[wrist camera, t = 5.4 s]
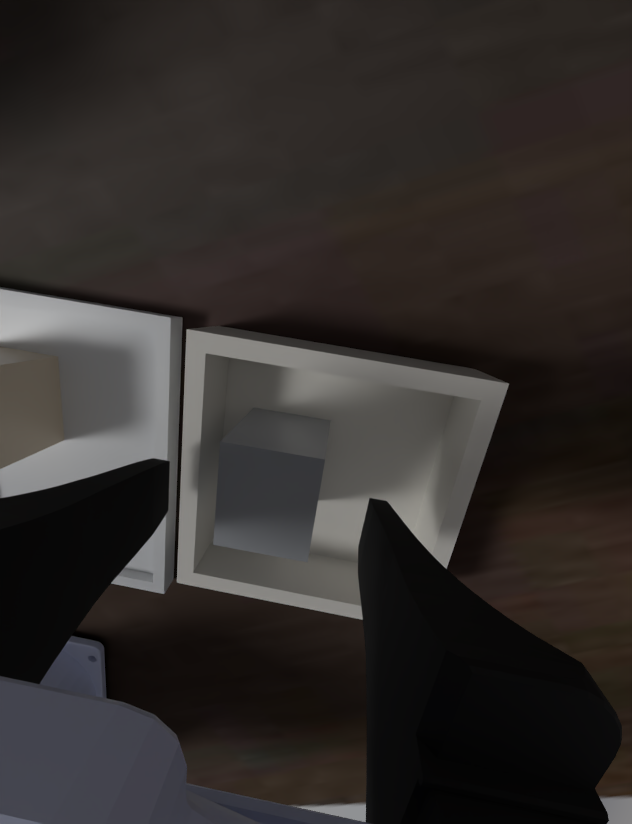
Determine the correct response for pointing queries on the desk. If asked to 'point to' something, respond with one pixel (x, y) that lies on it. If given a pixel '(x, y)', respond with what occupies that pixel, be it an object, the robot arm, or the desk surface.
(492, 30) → the desk surface
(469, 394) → the dish
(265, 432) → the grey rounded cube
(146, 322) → the parts tray
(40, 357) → the taupe rectangular block
